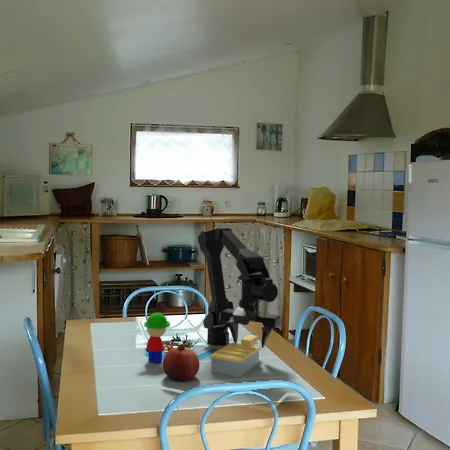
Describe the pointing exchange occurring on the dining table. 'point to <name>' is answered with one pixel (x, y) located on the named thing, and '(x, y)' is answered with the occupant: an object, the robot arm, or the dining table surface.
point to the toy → (155, 336)
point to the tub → (234, 366)
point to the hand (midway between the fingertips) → (249, 345)
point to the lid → (238, 350)
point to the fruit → (181, 363)
